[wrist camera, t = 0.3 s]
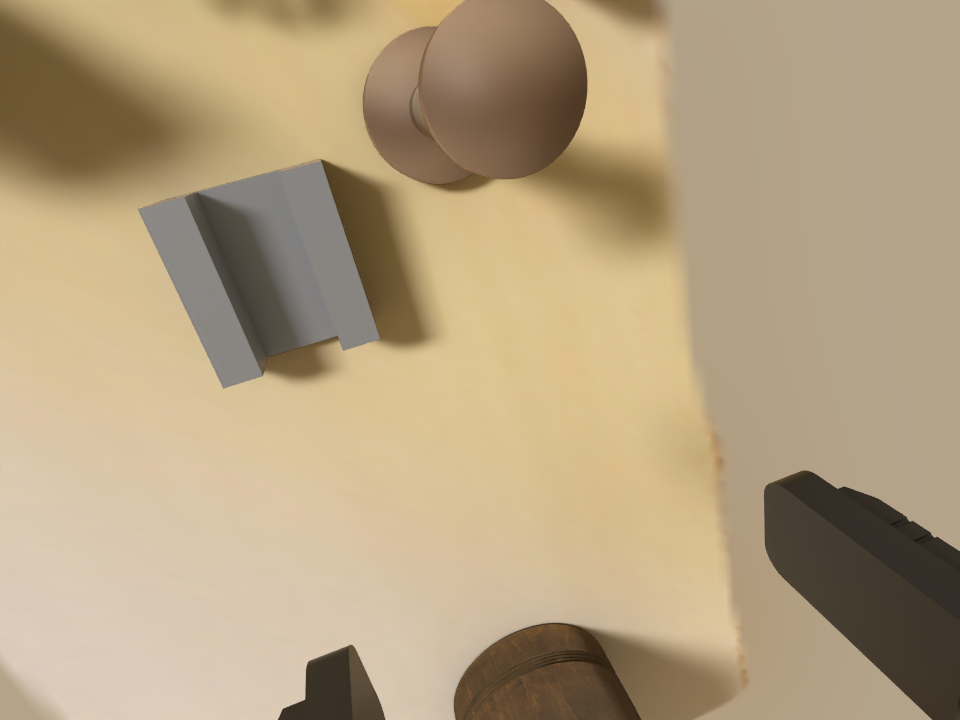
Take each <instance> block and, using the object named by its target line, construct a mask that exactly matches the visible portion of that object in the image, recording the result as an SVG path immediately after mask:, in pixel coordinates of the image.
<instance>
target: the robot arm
mask: <svg viewBox="0 0 960 720" xmlns="http://www.w3.org/2000/svg"><path fill="white" fill-rule="evenodd" d="M764 509H765V510H764V513H765V514H764V515H765V547H766V551H767V554H768V556H769V558H770V560H771V562H772V564H773V566H774V567H775V569H776V570H777V571H778V573H779V574H780V575H781V576H782V577H783V578H784V579H785V580H786V581H787V582H788V583H789V584H790V585H791V586H792V587H793V588H794V589H795V590H796V591H798V592H799V593H800V594H801V595H802V596H803V597H804V598H805V599H806V600H807V601H808V602H809V603H810V604H811V605H812V606H813V607H814V608H815V609H817V610H818V611H819V612H820V613H821V614H822V615H823V616H824V617H825V618H826V619H827V620H828V621H829V622H830V623H831V624H832V625H833V626H834V627H835V628H837V629H838V630H839V631H840V632H841V633H842V634H843V635H844V636H845V637H846V638H847V639H848V640H849V641H850V642H851V643H852V644H853V645H854V646H855V647H856V648H858V649H859V650H860V651H861V652H862V653H863V654H864V655H865V656H866V657H867V658H868V659H869V660H870V661H871V662H872V663H873V664H874V665H875V666H876V667H877V668H879V669H880V670H881V671H882V672H883V673H884V674H885V675H886V676H887V677H888V678H889V679H890V680H891V681H892V682H893V683H894V684H895V685H896V686H897V687H899V688H900V689H901V690H902V691H903V692H904V693H905V694H906V695H907V696H908V697H909V698H910V699H911V700H912V701H913V702H914V703H916V705H918V706H919V707H920V708H921V709H922V710H923V711H924V712H925V713H926V714H927V715H928V716H929V717H930V718H931V719H932V720H960V551H958V550H957V549H955V548H954V547H952V546H951V545H949V544H947V543H946V542H944V541H943V540H941V539H940V538H938V537H936V538H934V537H933V536H932V535H931V533H930V532H929V531H927V530H926V529H924V528H923V527H921V526H920V525H918V524H917V523H915V522H913V521H911V522H910V521H908V519H907V517H906V516H904V515H903V514H901V513H900V512H898V511H896V510H895V509H893V508H892V507H890V506H889V505H887V504H885V503H884V502H882V501H881V500H879V499H877V498H875V497H872V496H869V495H867V494H864V493H861V492H858V491H855V490H853V489H850V488H847V487H842V488H839V489H837V488H835V487H834V486H832V485H831V484H829V483H828V482H826V481H825V480H823V479H822V478H821V477H819V476H818V475H816V474H814V473H812V472H809V471H800V472H798V473H796V474H793V475H790V476H788V477H785V478H783V479H780V480H777V481H775V482H772V483H770V484H768V485H767V486H766V487H765V490H764ZM278 720H385V717H384V713H383V710H382V707H381V704H380V701H379V699H378V696H377V694H376V692H375V690H374V688H373V686H372V683H371V681H370V679H369V677H368V675H367V673H366V671H365V668H364V666H363V664H362V662H361V660H360V658H359V655H358V653H357V651H356V649H355V648H354V646H353V645H349V646H347V647H344V648H342V649H339V650H337V651H334V652H331V653H329V654H326V655H324V656H321V657H319V658H316V659H313V660H311V661H309V662H308V664H307V668H306V696H305V700H304V701H301V702H299V703H296V704H294V705H291V706H289V707H286V708H284V709H283V710H282V712H281V714H280V717H279V719H278Z"/></svg>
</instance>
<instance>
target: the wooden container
mask: <svg viewBox="0 0 960 720" xmlns="http://www.w3.org/2000/svg"><path fill="white" fill-rule="evenodd" d="M454 712H455V718H456V720H641V718H640V716H639V714H638V713H637V711H636V709H635V707H634V705H633V703H632V702H631V700H630V698H629V696H628V694H627V693H626V691H625V689H624V687H623V685H622V684H621V682H620V680H619V678H618V677H617V675H616V673H615V671H614V669H613V667H612V665H611V663H610V662H609V660H608V658H607V656H606V654H605V653H604V651H603V649H602V648H601V646H600V645H599V643H598V642H597V640H596V639H595V638H594V637H593V636H591V635H590V634H588V633H587V632H585V631H583V630H581V629H579V628H576V627H573V626H569V625H562V624H546V625H539V626H534V627H530V628H527V629H524V630H521V631H518V632H516V633H513V634H511V635H509V636H507V637H505V638H503V639H501V640H499V641H498V642H496V643H495V644H493V645H492V646H490V647H489V648H488V649H486V650H485V651H484V652H483V653H482V654H481V655H480V656H478V657H477V658H476V659H475V661H474V662H473V663H472V664H471V665H470V666H469V668H468V669H467V670H466V672H465V673H464V675H463V676H462V678H461V680H460V682H459V684H458V687H457V689H456V693H455V697H454Z"/></svg>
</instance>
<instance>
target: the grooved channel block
mask: <svg viewBox="0 0 960 720" xmlns="http://www.w3.org/2000/svg"><path fill="white" fill-rule="evenodd" d="M138 211H139V213H140V215H141V217H142V219H143V221H144V223H145V225H146V227H147V229H148V232H149V234H150V236H151V238H152V240H153V242H154V244H155V246H156V248H157V250H158V253H159V255H160V257H161V259H162V261H163V263H164V265H165V267H166V269H167V271H168V273H169V276H170V278H171V280H172V282H173V284H174V286H175V288H176V290H177V292H178V294H179V296H180V299H181V301H182V303H183V305H184V307H185V309H186V311H187V313H188V315H189V317H190V320H191V322H192V324H193V326H194V328H195V330H196V332H197V334H198V336H199V338H200V340H201V343H202V345H203V347H204V349H205V351H206V353H207V355H208V357H209V359H210V361H211V364H212V366H213V368H214V370H215V372H216V374H217V376H218V378H219V380H220V382H221V384H222V387H223V388H227V387H230V386H233V385H236V384H239V383H242V382H246V381H249V380H252V379H255V378H258V377H261V376H263V374H264V370H265V366H266V361H267V358H268V357H271V356H274V355H277V354H281V353H284V352H287V351H290V350H293V349H297V348H300V347H303V346H306V345H310V344H313V343H316V342H319V341H322V340H326V339H329V338H332V337H335V336H338V338H339V341H340V344H341V347H342V349H343V351H344V350H347V349H350V348H353V347H357V346H360V345H363V344H366V343H369V342H372V341H376V340H379V339H380V337H379V334H378V330H377V327H376V324H375V320H374V317H373V314H372V311H371V308H370V305H369V302H368V299H367V296H366V293H365V290H364V287H363V284H362V281H361V278H360V275H359V272H358V269H357V266H356V263H355V260H354V257H353V254H352V251H351V248H350V245H349V242H348V239H347V236H346V233H345V230H344V227H343V224H342V221H341V218H340V215H339V212H338V209H337V206H336V203H335V200H334V197H333V194H332V191H331V188H330V185H329V182H328V179H327V176H326V173H325V170H324V167H323V164H322V161H321V159H319V160H315V161H311V162H307V163H303V164H300V165H296V166H292V167H288V168H284V169H281V170H277V171H273V172H269V173H265V174H262V175H258V176H254V177H250V178H246V179H243V180H239V181H235V182H231V183H227V184H224V185H220V186H216V187H212V188H208V189H205V190H201V191H197V192H193V193H189V194H185V195H182V196H178V197H174V198H170V199H166V200H163V201H159V202H156V203H154V204H151V205H148V206H146V207H143V208H140V209H138Z"/></svg>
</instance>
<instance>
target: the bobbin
mask: <svg viewBox="0 0 960 720" xmlns="http://www.w3.org/2000/svg"><path fill="white" fill-rule="evenodd" d="M586 97H587V70H586V65H585V60H584V55H583V52H582V49H581V46H580V44H579V41H578V39H577V37H576V35H575V33H574V31H573V30H572V28H571V27H570V25H569V23H568V22H567V21H566V20H565V18H564V17H563V16H562V15H561V14H560V13H559V12H558V11H557V10H556V9H555V8H554V7H553V6H551V5H550V4H549V3H547V2H546V1H545V0H465V1H464V2H463V3H461V4H460V5H458V6H457V7H456V8H455V9H454V10H453V11H452V12H451V13H450V14H449V15H448V16H447V17H446V18H445V19H444V20H443V21H442V22H441V23H440V24H439V26H438V27H422V28H417V29H414V30H411V31H408V32H406V33H404V34H402V35H400V36H399V37H397V38H396V39H394V40H393V41H392V42H391V43H390V44H388V45H387V46H386V47H385V48H384V50H383V51H382V52H381V53H380V55H379V56H378V57H377V59H376V60H375V62H374V64H373V66H372V67H371V69H370V72H369V74H368V77H367V80H366V83H365V87H364V94H363V112H364V119H365V124H366V128H367V131H368V133H369V136H370V138H371V140H372V142H373V144H374V146H375V148H376V149H377V151H378V152H379V154H380V155H381V156H382V157H383V158H384V159H385V161H386V162H387V163H389V164H390V165H391V166H392V167H393V168H394V169H396V170H397V171H399V172H400V173H402V174H404V175H406V176H408V177H410V178H413V179H416V180H418V181H421V182H426V183H433V184H444V183H451V182H456V181H459V180H461V179H464V178H466V177H468V176H470V175H472V174H473V173H474V174H477V175H481V176H485V177H490V178H495V179H516V178H520V177H525V176H528V175H531V174H533V173H536V172H538V171H540V170H541V169H543V168H545V167H546V166H548V165H549V164H551V163H552V162H553V161H554V160H555V159H556V158H558V157H559V156H560V155H561V154H562V152H563V151H564V150H565V149H566V148H567V146H568V145H569V143H570V142H571V140H572V139H573V137H574V135H575V133H576V131H577V129H578V127H579V125H580V122H581V119H582V117H583V113H584V109H585V105H586Z"/></svg>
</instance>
